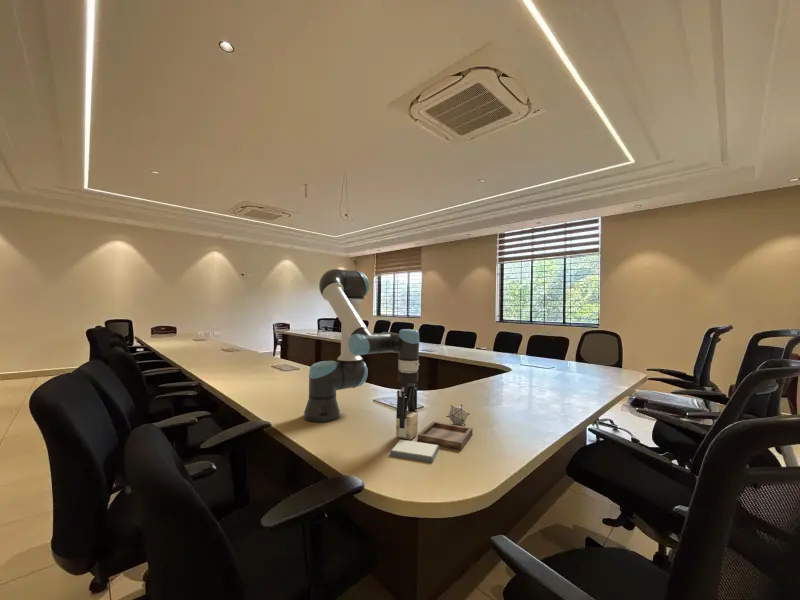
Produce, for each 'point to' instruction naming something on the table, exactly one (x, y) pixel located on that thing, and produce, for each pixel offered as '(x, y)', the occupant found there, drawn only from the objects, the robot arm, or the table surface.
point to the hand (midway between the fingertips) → (406, 433)
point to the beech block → (409, 425)
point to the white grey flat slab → (415, 450)
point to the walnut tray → (445, 435)
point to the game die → (458, 415)
